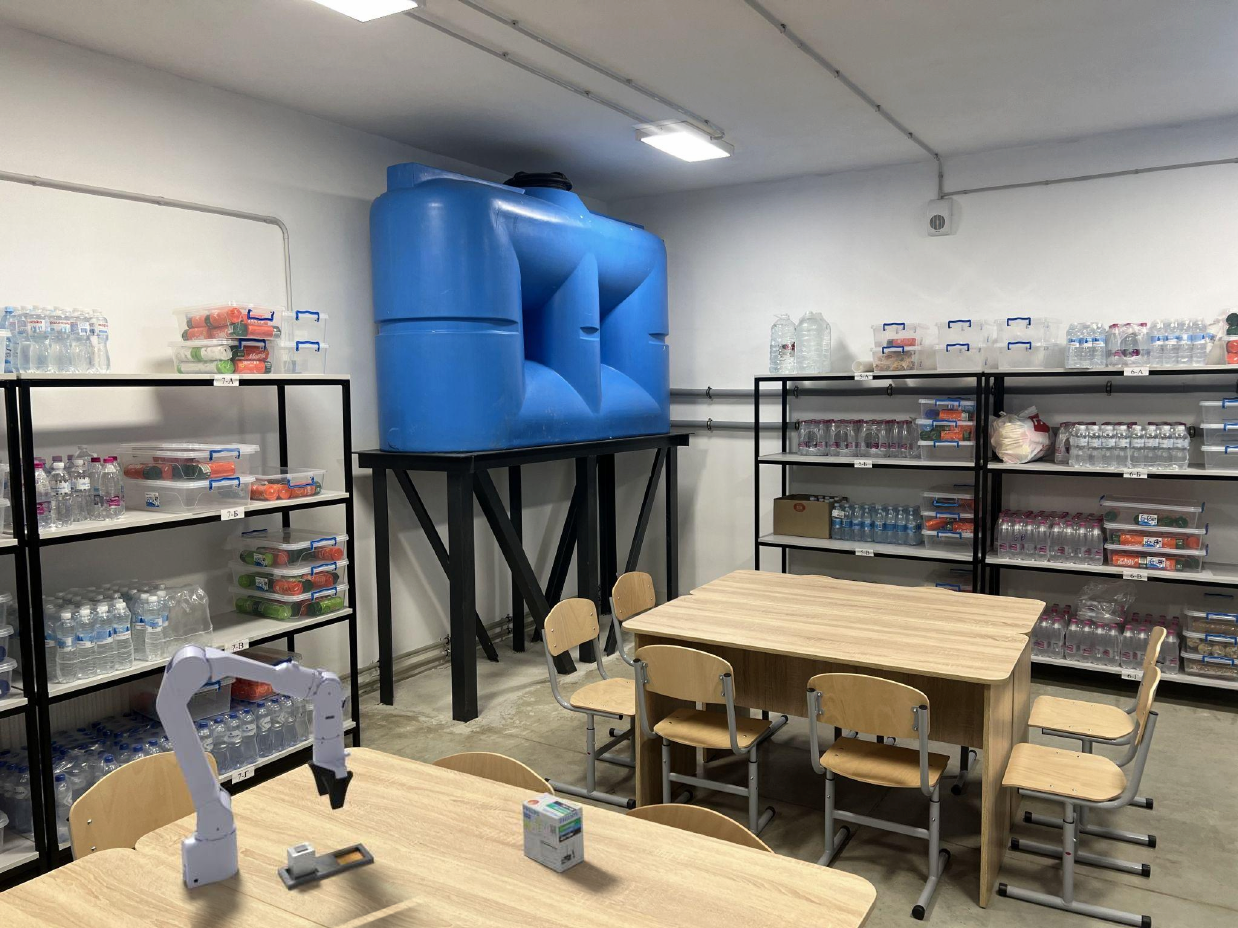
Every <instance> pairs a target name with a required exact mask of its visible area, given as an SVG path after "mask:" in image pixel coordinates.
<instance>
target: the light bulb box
mask: <svg viewBox="0 0 1238 928" xmlns="http://www.w3.org/2000/svg"><path fill="white" fill-rule="evenodd" d="M521 803H522V804H521V805H522V826H523V827H522V828H523V829H522V830H523V831H522V832H523V854H524V855H523V856H525V857H528V858H530V859H532V860H534V861H536V862H538V863H539V864H542V865H544V866H546V867H548V868H550V869H551V870H553V871H556V872H558V873H559V874H560V873H563V872H565V871H566V870H568V869H570V868H571V867H574V866H575V865H577V864H579V863H581V862H583V861H585V847H584V846H585V843H584V842H585V841H584V818H583V816H584V814H583V807H582V806H580V805H577V804H575V803H572V802H570V801H568V800H564V799H562V798H561V797H558V796H555V795H553V794H551V793H549V792H544V793H542V794H539V795H537V796H535V797H532V798H530V799H527V800H526V801H523V802H521Z"/></svg>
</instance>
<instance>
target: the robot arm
mask: <svg viewBox="0 0 1238 928" xmlns="http://www.w3.org/2000/svg"><path fill="white" fill-rule="evenodd" d="M227 676H229V677H235V678H239V679H240V678H241V679H245V680H249V681H255V682H260V683H264V684H269V685H270V686H271V688H272V691H274V693H278V694H281V695H285V696H289V697H295V698H298V699H303V700H312V706H313V707H312V709H313V711H312V732H313V734H312V737H313V740H312V741H313V746H312V759H310V760H308V761H307V763H306V764H307V766H308V767H309V769H310V771H311V773H312V776H313V778H314V782H315V787H316V789H317V793H318V796H320V797H322V796H326V795H328V800H329V805H330V807H331V809H332V810H333V811H334V810H339V809H341V808H344V805H345V800H346V796H347V790H348V788H349V785H350V783H351V781H352V779H353V777H354V772H353V771H352V770H348V767H347V765H346V760H347V759H346V758H348V757H350V756H351V751H350V750H348V749H345V736H344V735H345V733H344V732H345V731H344V710H343V699H344V698H345V695H346V690H345V689H344V685H343V683H342V682H341V680H340V678H339V676H338V675H337V674H335V673H334V672H333V671H330V670H329V669H322V668H317V669H316V670H315V669H312V668H309V667H304V666H302V665H301V666H300V664H299V662H298V661H295V660H292V661H291V662H290V663H289V662H282V663H280V664H279V665H277V666H274V665H270V664H267V663H264V662H260V661H259V660H254V659H250V658H247V657H244V656H241V655H238V654H235V653H231V652H227V651H224V650H221V649H217V648H214V647H207V646H205V647H204V648H203V647H202V646H200V645H197V644H186V645H183V646H181V647H180V648H178V649H177V650H176V651H175V653H174V654H173V655H172V656H171V658H170V659H169V661H168V662H167V664H166V666H165V670H164V673H163V678H162V680H161V684H160V687H159V691H158V694H157V697H156V701H155V702H156V703H155V709H156V712H157V715H158V717H159V719H160V722H161V724H162V726H163V729H164V731H165V734H166V736H167V738H168V742H169V744H170V747H171V749H172V751H173V753H174V757H175V759H176V760H177V763H178V766H179V768H180V771H181V773H182V775H183V778H184V781H185V783H186V785H187V787H188V790H189V792H190V795H191V799H192V803H193V806H194V810H195V813H196V823H195V824H196V828H195V829H194V832H193V834H192V835H191V836H188V837H187V838H184V839H182V840H181V844H180V845H181V864H182V879H183V881H185V883H186V885H187V888H188V889H192V888H196V887H200V886H202V885H203V886H204V885H205V884H206V885H207V884H210V883H211V884H213V883H216V882H221V881H224V880H226V879H229V878H232V876H234V875H235V874H236V873H238V871H239V855H238V853H239V852H238V838H237V836H238V835H237V824H236V822H235V819H234V818H235V816H234V814H233V811H232V810H233V808H232V805H233V804H232V797H231V794H230V793H229V792H228V791H227V790H226V789H225V788H224V787H222V785H221V784H220V781H219V779H218V778H217V777H216V775H215V773H214V770H213V768H212V766H211V763H210V760H209V758H208V756H207V753H206V751H205V748H204V747H203V746H204V745H203V744H202V741H201V738H200V737H199V733H198V732H197V729H196V726H195V724H194V720H193V719H192V716H191V714H190V712H189V709H188V706H187V705H188V703H189V701H190V700H191V699H192V696H193V695H194V693H196V692H197V691H199V689H200V688H202V687H203V686H204V685H205V684H206V683H207V681H208V680H209V678H210V677H211V678H210V679H211V682H212V683H215V682H217V681H219V680H221V679H224V678H225V677H227ZM195 880H196V881H195Z"/></svg>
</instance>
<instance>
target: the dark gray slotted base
mask: <svg viewBox="0 0 1238 928" xmlns="http://www.w3.org/2000/svg"><path fill="white" fill-rule="evenodd" d="M315 859H316V873H315V874H312V875H309V876H306V877H302V878H299V879H296V880H292V879H291V877H290V876H289V874H288V865H286V866H282V867H279V868H277V874H278V876H279V877H280V879H281V880H282V882H283V884H284V885H285V887H286V888H287V890H290V889H294V888H297V887H300V886H303V885H307V884H310V883H312V882H316V881H319V880H322V879H324V878H328V877H331V876H334V875H337V874H340V873H343V872H346V871H348V870H352V869H356V868H358V867H361V866H364V865H367V864H371V863H373V862H374V861H375V858H374V856H373V855H372V853H371V852H370V851H369V850H368V849H367V848H366V846H364V845H363V844H362V843H361V842H359V843H357V844H353V845H350V846H346V847H345V848H340V849H338V850H334V851H330V852H327V853H325V854H322V855H318V856H315Z"/></svg>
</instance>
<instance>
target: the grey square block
mask: <svg viewBox="0 0 1238 928" xmlns="http://www.w3.org/2000/svg"><path fill="white" fill-rule="evenodd" d="M286 856H287V859H286V860H287V866H288V874H289V876H290V877H291V879H292V880H296V879H299V878H302V877H306V876H309V875H312V874H315V873H316V859H315V857H316V849H315V848H314V847H313V846H312V844H311V843H310V841H306V842H302V843H299V844H297V845H294V846H290V847H286Z"/></svg>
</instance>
